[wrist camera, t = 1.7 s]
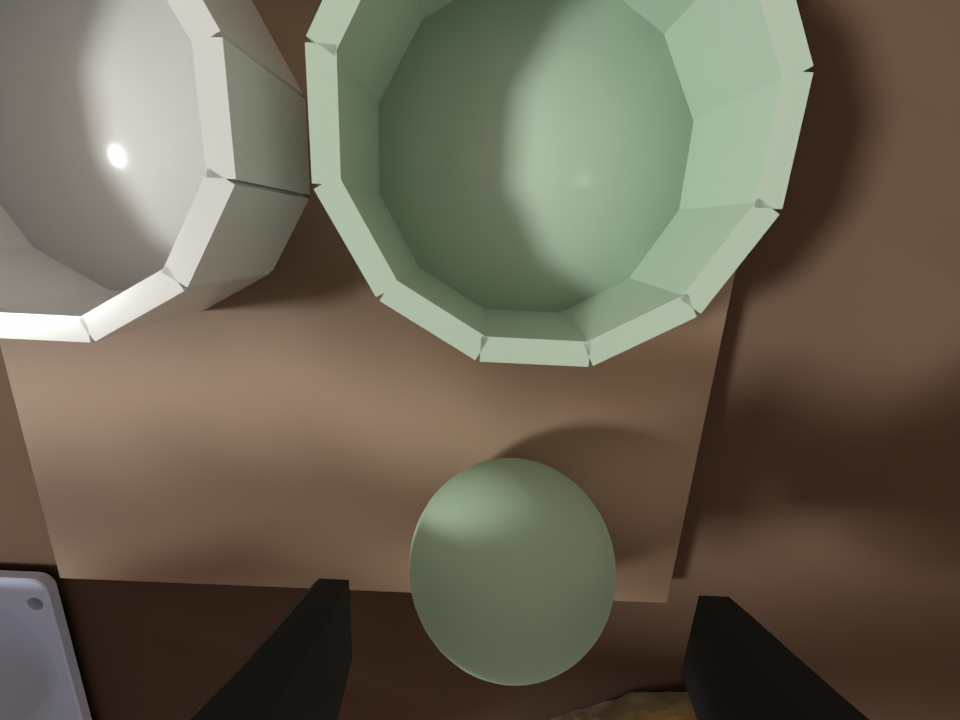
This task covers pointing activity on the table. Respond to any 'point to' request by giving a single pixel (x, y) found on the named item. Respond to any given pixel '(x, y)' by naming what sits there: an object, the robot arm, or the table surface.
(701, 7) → the cup green
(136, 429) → the board
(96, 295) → the cup grey
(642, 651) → the table surface
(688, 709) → the pastry
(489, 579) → the ball
